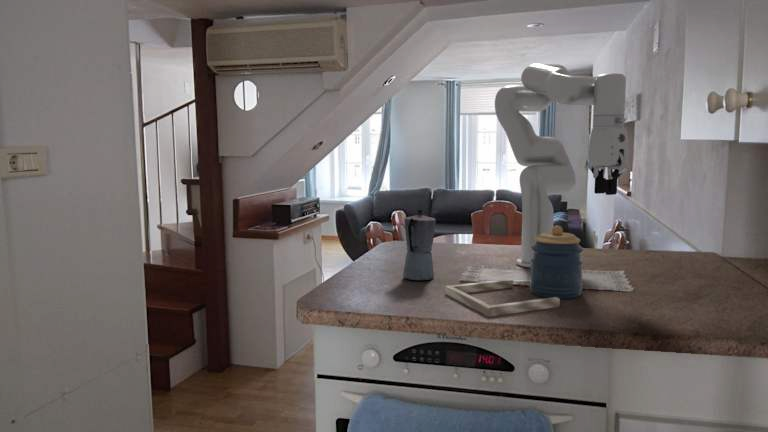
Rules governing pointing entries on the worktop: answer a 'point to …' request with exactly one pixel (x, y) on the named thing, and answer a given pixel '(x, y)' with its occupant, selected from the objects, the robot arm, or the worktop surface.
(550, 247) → the canister
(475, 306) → the bay frame
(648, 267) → the worktop surface
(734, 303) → the worktop surface
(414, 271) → the moka pot
